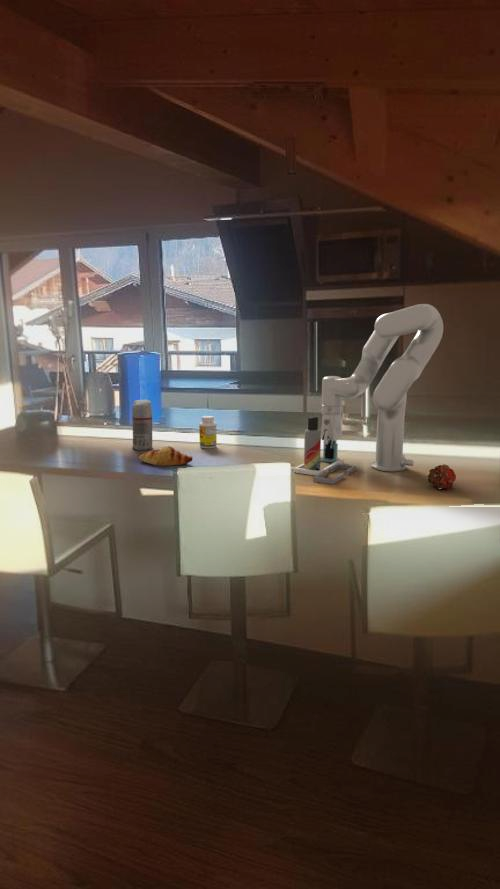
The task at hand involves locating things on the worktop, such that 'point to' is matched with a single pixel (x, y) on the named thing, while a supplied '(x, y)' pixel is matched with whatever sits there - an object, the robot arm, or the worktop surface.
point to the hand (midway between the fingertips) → (330, 457)
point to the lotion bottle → (312, 445)
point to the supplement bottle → (207, 432)
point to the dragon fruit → (442, 476)
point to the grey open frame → (332, 481)
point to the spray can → (142, 424)
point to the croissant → (165, 457)
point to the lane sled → (322, 458)
